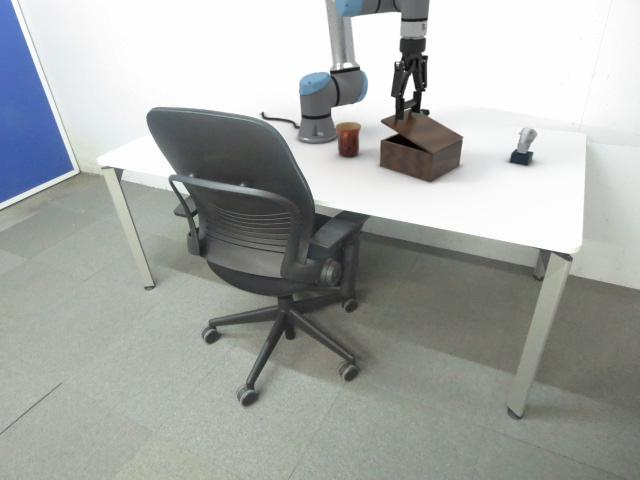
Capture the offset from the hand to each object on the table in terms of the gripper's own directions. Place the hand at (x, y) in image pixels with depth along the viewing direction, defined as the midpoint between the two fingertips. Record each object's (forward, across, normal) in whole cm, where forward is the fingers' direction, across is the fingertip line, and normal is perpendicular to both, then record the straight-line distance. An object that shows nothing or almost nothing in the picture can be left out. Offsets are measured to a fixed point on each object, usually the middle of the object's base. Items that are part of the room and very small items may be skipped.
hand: (407, 115), depth 135 cm
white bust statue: (+15, +24, -29) cm, 40 cm away
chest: (+15, 0, -6) cm, 17 cm away
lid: (+4, 0, -6) cm, 7 cm away
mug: (+16, -9, +18) cm, 26 cm away
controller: (+16, +26, +13) cm, 34 cm away
